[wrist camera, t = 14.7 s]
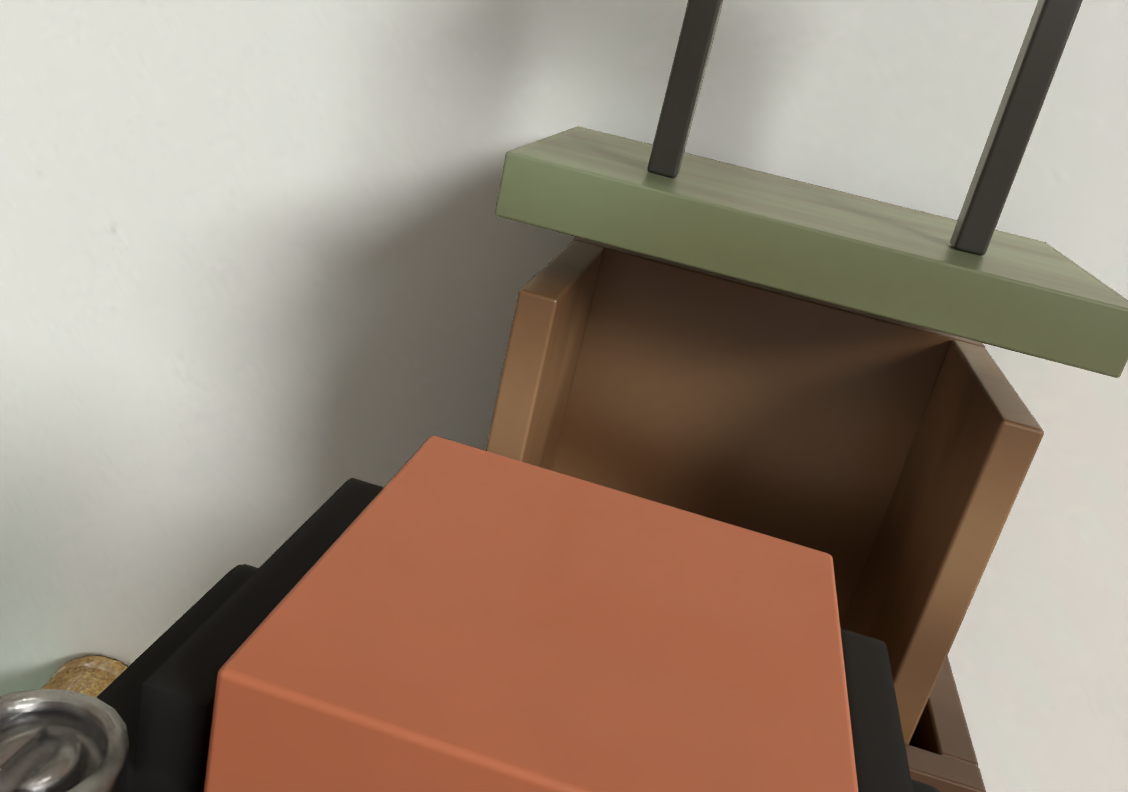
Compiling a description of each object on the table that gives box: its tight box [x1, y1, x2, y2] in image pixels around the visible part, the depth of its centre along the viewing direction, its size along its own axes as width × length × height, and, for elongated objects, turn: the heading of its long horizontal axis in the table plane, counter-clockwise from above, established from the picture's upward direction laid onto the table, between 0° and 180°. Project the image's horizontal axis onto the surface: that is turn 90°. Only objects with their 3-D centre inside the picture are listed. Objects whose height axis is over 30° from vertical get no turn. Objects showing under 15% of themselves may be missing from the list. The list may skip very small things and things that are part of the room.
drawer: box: [486, 0, 1128, 745], centre depth 21 cm, size 21×11×7 cm, turn 168°
